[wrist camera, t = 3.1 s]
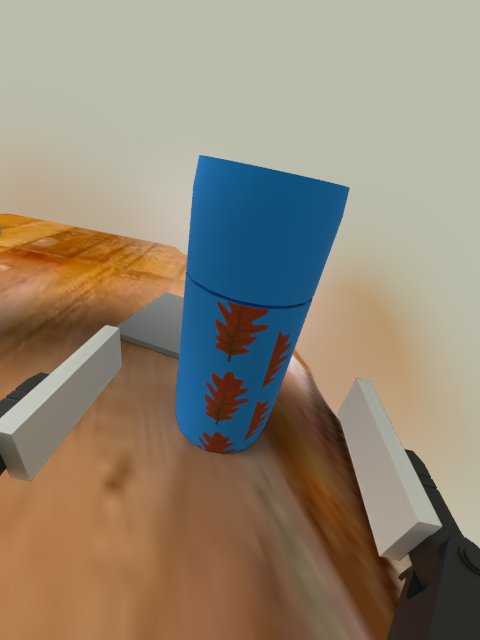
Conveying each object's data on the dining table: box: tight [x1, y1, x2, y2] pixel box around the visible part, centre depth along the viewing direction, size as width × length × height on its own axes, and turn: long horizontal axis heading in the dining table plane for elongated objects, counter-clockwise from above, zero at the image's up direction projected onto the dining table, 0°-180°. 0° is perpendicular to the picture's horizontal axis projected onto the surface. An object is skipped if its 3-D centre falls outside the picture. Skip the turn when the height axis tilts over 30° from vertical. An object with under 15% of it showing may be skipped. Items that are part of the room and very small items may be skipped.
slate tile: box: [115, 292, 184, 359], centre depth 44 cm, size 16×16×1 cm
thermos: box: [176, 155, 349, 454], centre depth 24 cm, size 11×11×25 cm
